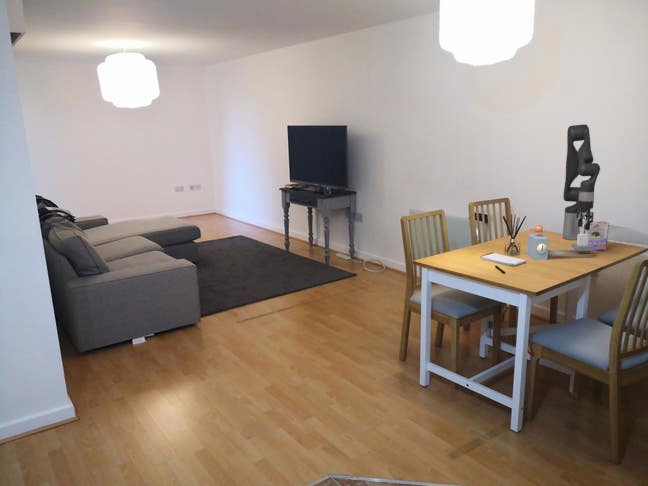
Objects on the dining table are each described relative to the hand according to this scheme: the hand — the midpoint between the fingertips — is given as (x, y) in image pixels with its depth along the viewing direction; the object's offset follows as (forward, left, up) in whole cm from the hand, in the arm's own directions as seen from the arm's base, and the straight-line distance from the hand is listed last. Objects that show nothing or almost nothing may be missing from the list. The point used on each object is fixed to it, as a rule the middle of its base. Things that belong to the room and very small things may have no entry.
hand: (583, 228), depth 279 cm
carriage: (0, 0, -12) cm, 12 cm away
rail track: (0, -8, -16) cm, 18 cm away
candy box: (-12, +12, -16) cm, 23 cm away
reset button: (0, -25, -1) cm, 25 cm away
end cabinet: (0, -25, -16) cm, 29 cm away
